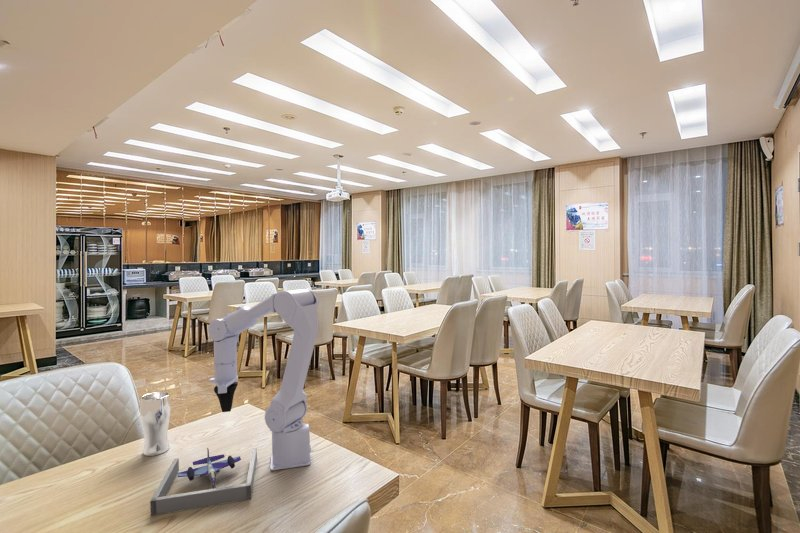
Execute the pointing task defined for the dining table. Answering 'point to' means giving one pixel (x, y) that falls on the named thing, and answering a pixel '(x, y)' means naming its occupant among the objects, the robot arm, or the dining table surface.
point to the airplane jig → (199, 492)
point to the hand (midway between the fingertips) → (226, 410)
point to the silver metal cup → (155, 422)
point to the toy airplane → (209, 467)
